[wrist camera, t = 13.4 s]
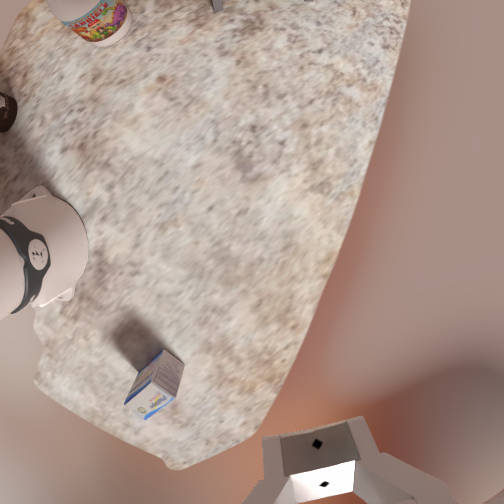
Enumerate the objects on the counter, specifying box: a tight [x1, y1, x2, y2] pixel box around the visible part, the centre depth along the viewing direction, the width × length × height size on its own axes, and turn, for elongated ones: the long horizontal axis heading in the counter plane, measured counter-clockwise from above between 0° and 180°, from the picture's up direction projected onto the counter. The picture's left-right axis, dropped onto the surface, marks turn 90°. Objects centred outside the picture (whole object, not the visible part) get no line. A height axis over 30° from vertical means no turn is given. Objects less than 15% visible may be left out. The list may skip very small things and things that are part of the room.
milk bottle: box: [47, 0, 132, 47], centre depth 23 cm, size 8×8×20 cm
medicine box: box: [124, 349, 185, 420], centre depth 42 cm, size 8×4×9 cm, turn 135°
